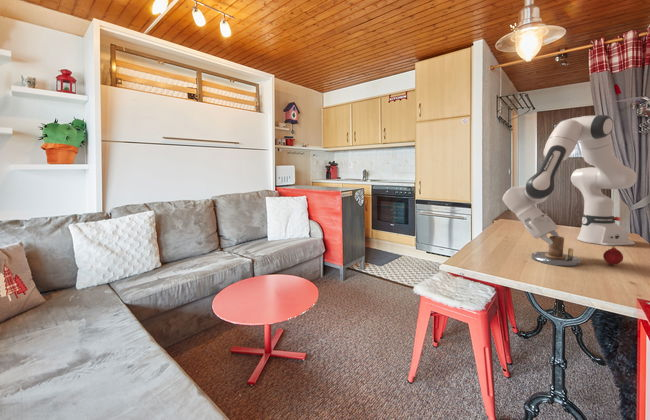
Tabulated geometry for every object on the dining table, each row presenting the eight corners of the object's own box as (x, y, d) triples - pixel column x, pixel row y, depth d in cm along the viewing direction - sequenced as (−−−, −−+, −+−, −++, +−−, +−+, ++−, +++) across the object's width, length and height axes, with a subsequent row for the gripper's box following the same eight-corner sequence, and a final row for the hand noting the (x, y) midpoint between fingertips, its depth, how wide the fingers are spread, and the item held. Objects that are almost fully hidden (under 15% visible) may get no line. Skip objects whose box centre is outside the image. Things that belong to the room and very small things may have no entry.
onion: (625, 268, 118) (628, 248, 117) (608, 267, 119) (611, 248, 118) (615, 263, 124) (617, 244, 122) (598, 262, 125) (601, 244, 124)
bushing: (558, 255, 133) (560, 235, 131) (569, 259, 126) (571, 239, 125) (541, 254, 134) (543, 235, 132) (551, 259, 127) (552, 239, 126)
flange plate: (563, 254, 137) (565, 241, 136) (590, 266, 120) (592, 252, 120) (523, 253, 140) (524, 241, 139) (544, 266, 123) (545, 251, 122)
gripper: (528, 215, 127) (554, 242, 121) (545, 210, 139) (570, 234, 133) (516, 224, 131) (540, 250, 125) (534, 218, 143) (557, 241, 137)
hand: (555, 242), depth 129 cm, fingers open, 8 cm apart
